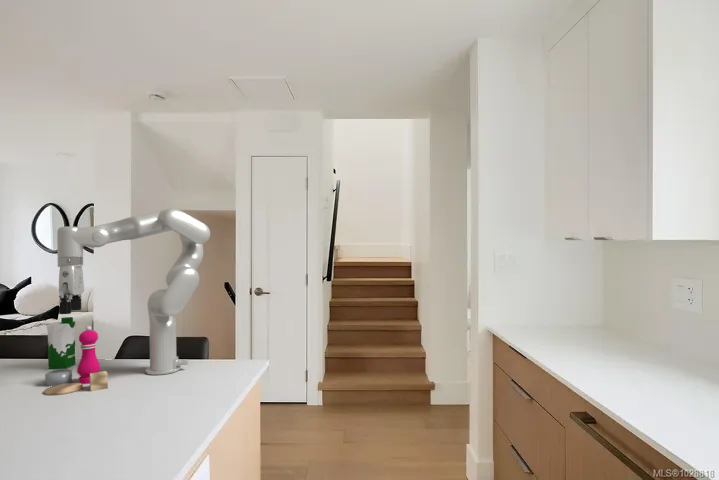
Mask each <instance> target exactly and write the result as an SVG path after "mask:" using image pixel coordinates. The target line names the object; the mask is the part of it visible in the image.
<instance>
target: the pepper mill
mask: <svg viewBox="0 0 719 480" xmlns="http://www.w3.org/2000/svg"><path fill="white" fill-rule="evenodd" d="M98 339H99V335H98V332H97V331H96V330H93V329H92V326H90V325H87V326H85V330H83V331H82V332H81V333H80V334H79V337H78V341H79V343H80V349H81V358H80V361H79V363H78V365H77V369H76V370H77V371H76V373H77V375H79V377H78V383H81V384H83V385H84V384H85V385H86V384H90V373H96V372H101V364H100V361H99V360H98V357H97V354H96V348H97V347H98V346H97V344H98V343H97V341H98Z"/></svg>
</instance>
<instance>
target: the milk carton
mask: <svg viewBox="0 0 719 480" xmlns="http://www.w3.org/2000/svg"><path fill="white" fill-rule="evenodd" d="M60 319H61V321H56V322H52V323H49V324H47V325H46V330H47V355H48V356H47V357H48V358H47V366H48V367H47V369H48V370H62V369H70V367H73V366H75V365H76V327H77V321H75V320H74V317H72V316H67V317H61V318H60Z"/></svg>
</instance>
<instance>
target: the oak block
mask: <svg viewBox="0 0 719 480" xmlns="http://www.w3.org/2000/svg"><path fill="white" fill-rule="evenodd" d="M108 377H109V375H108V372H107V370H104V371H99V372H96V373H90V383H89V388H90V389H89V390H90V392H95V391H100V390H107V389H108V388H109V386H108V385H109V381H108V380H109V379H108Z"/></svg>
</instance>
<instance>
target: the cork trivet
mask: <svg viewBox="0 0 719 480" xmlns="http://www.w3.org/2000/svg"><path fill="white" fill-rule="evenodd" d="M83 388H84V384H81V383H79V382H71V383H66V384H60V385H55V386H52V387H49V386H48V387H47V388H46V389H44V393H43V394H44V395H46V396H60V395H67V394H72V393H75V392H78V391H80V390H82V389H83Z"/></svg>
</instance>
